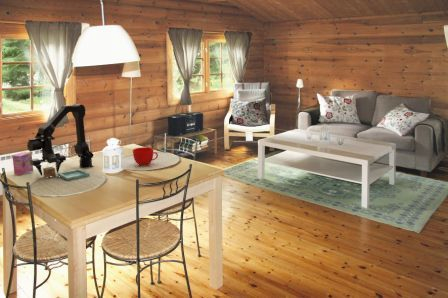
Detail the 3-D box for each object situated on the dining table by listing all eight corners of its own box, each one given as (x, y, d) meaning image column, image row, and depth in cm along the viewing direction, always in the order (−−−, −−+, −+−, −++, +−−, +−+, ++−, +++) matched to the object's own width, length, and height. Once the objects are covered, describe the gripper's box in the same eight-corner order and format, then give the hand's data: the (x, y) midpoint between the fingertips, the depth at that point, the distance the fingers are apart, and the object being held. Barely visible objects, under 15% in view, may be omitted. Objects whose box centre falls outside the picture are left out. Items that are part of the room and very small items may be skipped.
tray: (79, 172, 256) (79, 169, 255) (89, 176, 246) (89, 173, 246) (58, 176, 247) (57, 173, 247) (67, 181, 238) (67, 177, 237)
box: (22, 175, 250) (20, 155, 247) (14, 174, 251) (11, 155, 248) (33, 170, 260) (31, 151, 257) (25, 170, 261) (23, 151, 258)
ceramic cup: (152, 168, 262) (152, 152, 260) (129, 166, 268) (128, 150, 266) (163, 163, 274) (162, 148, 272) (140, 161, 280) (139, 146, 278)
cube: (52, 174, 251) (51, 166, 250) (55, 176, 247) (55, 168, 246) (43, 176, 247) (43, 168, 246) (47, 178, 244) (46, 169, 243)
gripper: (35, 153, 232) (38, 180, 235) (68, 147, 244) (71, 173, 247) (28, 149, 239) (31, 176, 243) (60, 144, 252) (63, 170, 255)
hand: (49, 174), depth 247 cm, fingers open, 9 cm apart
